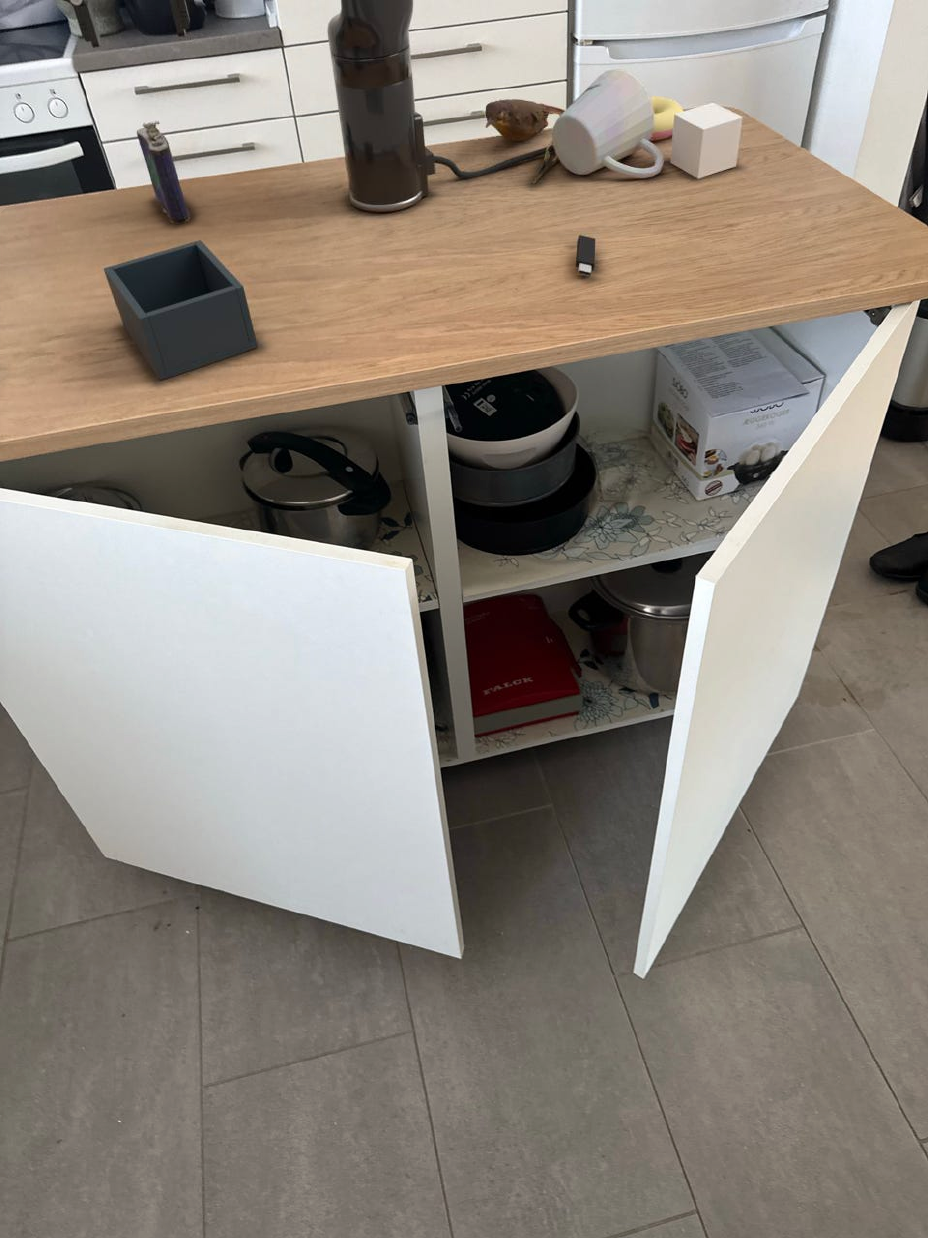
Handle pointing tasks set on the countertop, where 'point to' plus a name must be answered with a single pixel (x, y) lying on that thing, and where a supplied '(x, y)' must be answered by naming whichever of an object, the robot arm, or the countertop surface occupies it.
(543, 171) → the brown clothespin
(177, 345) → the box
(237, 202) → the countertop surface
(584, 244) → the usb flash drive
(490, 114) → the bird sculpture
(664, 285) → the countertop surface
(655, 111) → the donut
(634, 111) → the mug
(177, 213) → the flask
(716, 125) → the white cube
